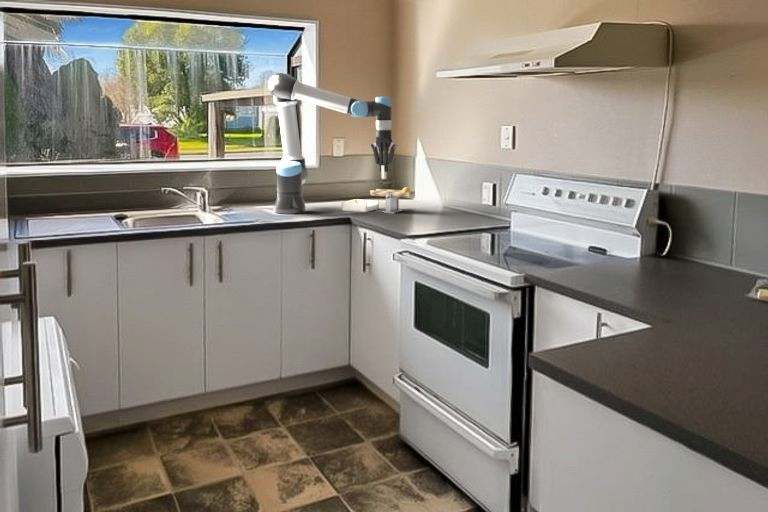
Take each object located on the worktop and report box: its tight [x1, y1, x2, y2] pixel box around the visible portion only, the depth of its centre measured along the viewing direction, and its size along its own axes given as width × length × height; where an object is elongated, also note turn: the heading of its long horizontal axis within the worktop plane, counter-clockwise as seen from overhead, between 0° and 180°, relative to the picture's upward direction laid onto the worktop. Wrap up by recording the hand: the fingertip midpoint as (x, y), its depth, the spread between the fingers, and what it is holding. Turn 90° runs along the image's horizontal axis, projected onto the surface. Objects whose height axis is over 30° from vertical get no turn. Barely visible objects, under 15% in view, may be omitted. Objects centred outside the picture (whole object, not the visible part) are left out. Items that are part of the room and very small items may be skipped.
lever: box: [369, 188, 416, 199], centre depth 356 cm, size 20×14×2 cm
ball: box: [402, 186, 411, 192], centre depth 350 cm, size 4×4×4 cm
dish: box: [341, 198, 380, 213], centre depth 361 cm, size 13×14×4 cm
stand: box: [381, 193, 403, 214], centre depth 354 cm, size 6×11×9 cm, turn 156°
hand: (384, 178), depth 362 cm, fingers closed
